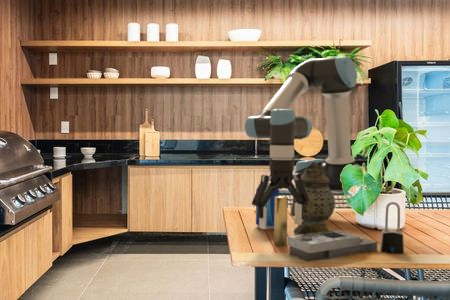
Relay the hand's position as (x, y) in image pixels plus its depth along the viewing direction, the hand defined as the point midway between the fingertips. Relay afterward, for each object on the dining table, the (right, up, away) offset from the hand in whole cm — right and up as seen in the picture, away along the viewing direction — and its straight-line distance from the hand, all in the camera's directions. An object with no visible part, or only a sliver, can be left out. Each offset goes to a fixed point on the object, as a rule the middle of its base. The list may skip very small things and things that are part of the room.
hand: (280, 226), depth 144 cm
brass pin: (0, -6, 0) cm, 6 cm away
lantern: (+13, -5, +16) cm, 21 cm away
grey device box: (+15, -6, -7) cm, 18 cm away
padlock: (+33, -7, -7) cm, 34 cm away
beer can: (-2, -5, +24) cm, 25 cm away
